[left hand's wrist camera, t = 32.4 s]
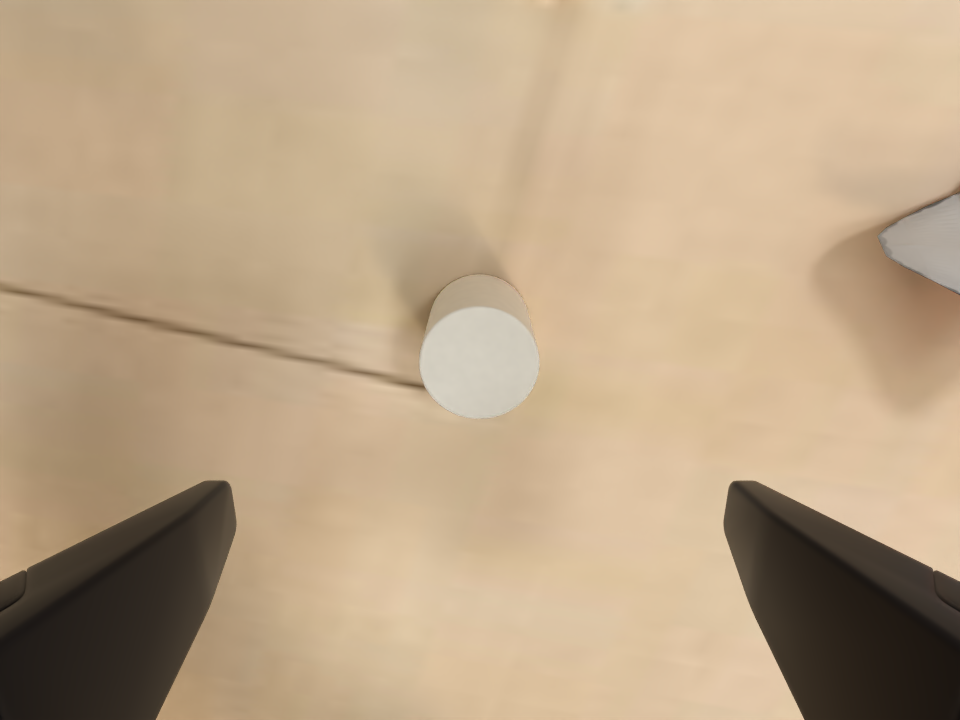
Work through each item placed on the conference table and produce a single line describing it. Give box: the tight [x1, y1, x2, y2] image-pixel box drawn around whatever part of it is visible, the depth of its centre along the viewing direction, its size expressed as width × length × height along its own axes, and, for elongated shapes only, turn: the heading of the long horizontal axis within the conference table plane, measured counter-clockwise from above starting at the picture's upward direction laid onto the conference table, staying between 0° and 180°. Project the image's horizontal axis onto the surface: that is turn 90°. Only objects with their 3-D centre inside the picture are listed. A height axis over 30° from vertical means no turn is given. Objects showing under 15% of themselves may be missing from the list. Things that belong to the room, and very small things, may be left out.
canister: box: [419, 274, 540, 419], centre depth 20 cm, size 4×4×4 cm
